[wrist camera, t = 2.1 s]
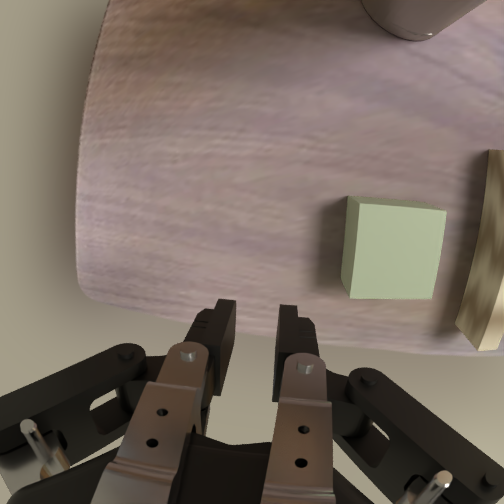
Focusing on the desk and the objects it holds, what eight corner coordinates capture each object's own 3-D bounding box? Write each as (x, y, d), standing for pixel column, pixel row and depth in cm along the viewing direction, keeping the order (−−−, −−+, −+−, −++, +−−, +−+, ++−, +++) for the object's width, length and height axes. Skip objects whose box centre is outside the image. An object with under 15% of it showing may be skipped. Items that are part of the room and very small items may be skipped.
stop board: (488, 149, 25) (523, 151, 19) (507, 155, 24) (541, 159, 19) (454, 323, 31) (477, 351, 25) (473, 323, 30) (496, 349, 25)
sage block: (347, 195, 28) (359, 203, 23) (423, 201, 27) (446, 211, 23) (340, 276, 30) (349, 298, 26) (412, 278, 30) (431, 298, 25)
